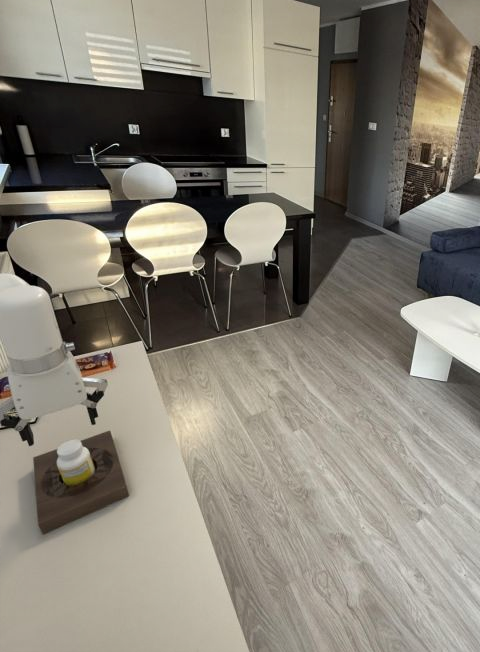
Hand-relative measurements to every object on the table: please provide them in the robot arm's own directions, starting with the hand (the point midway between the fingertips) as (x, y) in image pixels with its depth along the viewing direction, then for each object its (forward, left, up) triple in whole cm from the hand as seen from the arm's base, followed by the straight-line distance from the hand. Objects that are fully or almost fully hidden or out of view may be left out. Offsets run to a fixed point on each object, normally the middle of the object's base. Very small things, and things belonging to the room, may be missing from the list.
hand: (63, 430), depth 75 cm
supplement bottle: (0, 0, -14) cm, 14 cm away
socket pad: (0, 0, -14) cm, 14 cm away
